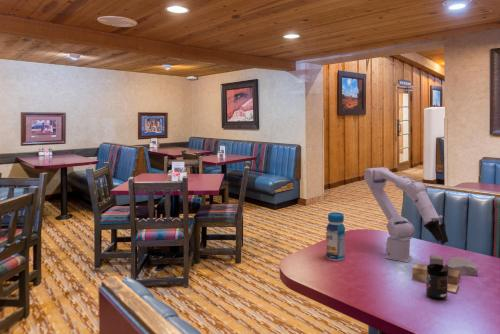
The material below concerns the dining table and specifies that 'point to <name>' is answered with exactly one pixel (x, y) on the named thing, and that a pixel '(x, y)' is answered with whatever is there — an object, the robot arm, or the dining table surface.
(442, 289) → the supplement container
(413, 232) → the robot arm
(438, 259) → the slate block
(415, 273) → the maple block
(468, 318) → the dining table surface
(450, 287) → the tile
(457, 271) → the walnut block
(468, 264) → the stone block
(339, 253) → the beverage bottle
